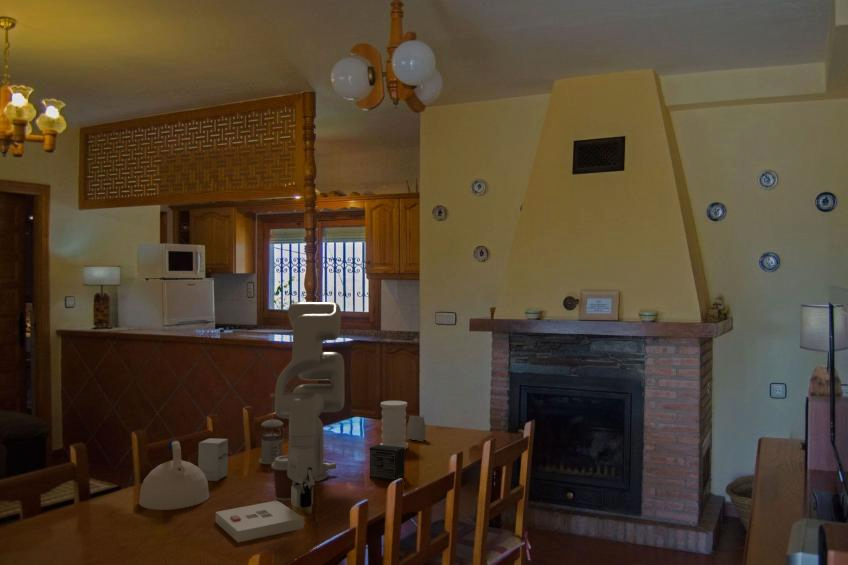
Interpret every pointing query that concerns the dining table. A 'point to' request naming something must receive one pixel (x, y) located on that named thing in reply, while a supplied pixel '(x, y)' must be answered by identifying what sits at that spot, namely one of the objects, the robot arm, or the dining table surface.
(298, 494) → the plug
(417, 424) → the grey tapered block
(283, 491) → the coffee cup
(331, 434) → the dining table surface
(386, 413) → the decorative container
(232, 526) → the socket
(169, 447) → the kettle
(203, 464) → the supplement box
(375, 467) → the small box
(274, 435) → the french press
